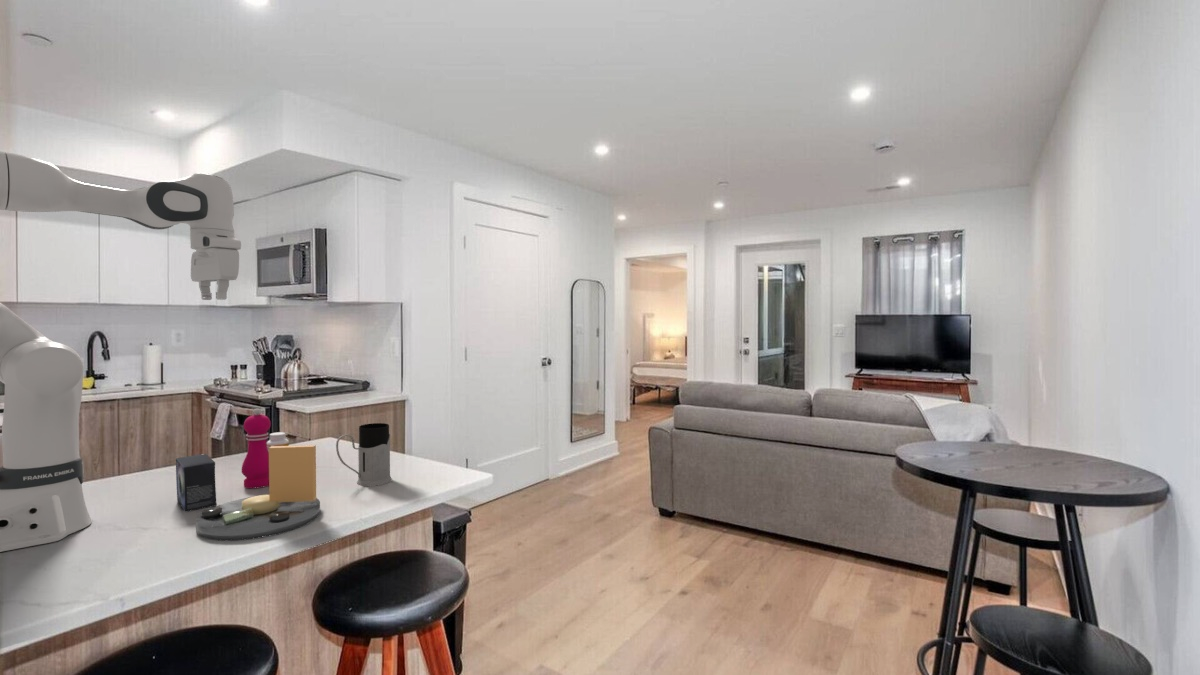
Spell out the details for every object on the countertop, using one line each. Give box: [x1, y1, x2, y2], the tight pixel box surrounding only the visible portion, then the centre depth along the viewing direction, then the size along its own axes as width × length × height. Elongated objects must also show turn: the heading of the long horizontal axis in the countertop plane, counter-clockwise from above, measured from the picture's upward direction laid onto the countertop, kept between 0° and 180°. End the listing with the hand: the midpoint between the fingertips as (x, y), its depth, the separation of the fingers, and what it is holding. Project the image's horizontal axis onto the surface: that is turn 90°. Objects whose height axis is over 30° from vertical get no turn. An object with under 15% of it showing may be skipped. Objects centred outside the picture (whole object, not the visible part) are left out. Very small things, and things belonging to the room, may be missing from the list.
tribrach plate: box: [195, 496, 321, 541], centre depth 122 cm, size 23×23×4 cm
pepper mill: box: [241, 408, 272, 489], centre depth 146 cm, size 7×7×20 cm
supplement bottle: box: [267, 431, 290, 452], centre depth 161 cm, size 6×6×10 cm
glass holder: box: [335, 422, 393, 487], centre depth 148 cm, size 9×14×15 cm, turn 136°
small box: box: [175, 453, 218, 513], centre depth 132 cm, size 11×6×10 cm, turn 45°
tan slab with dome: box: [242, 444, 317, 515], centre depth 122 cm, size 14×7×14 cm, turn 100°
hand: (213, 299), depth 137 cm, fingers open, 8 cm apart
